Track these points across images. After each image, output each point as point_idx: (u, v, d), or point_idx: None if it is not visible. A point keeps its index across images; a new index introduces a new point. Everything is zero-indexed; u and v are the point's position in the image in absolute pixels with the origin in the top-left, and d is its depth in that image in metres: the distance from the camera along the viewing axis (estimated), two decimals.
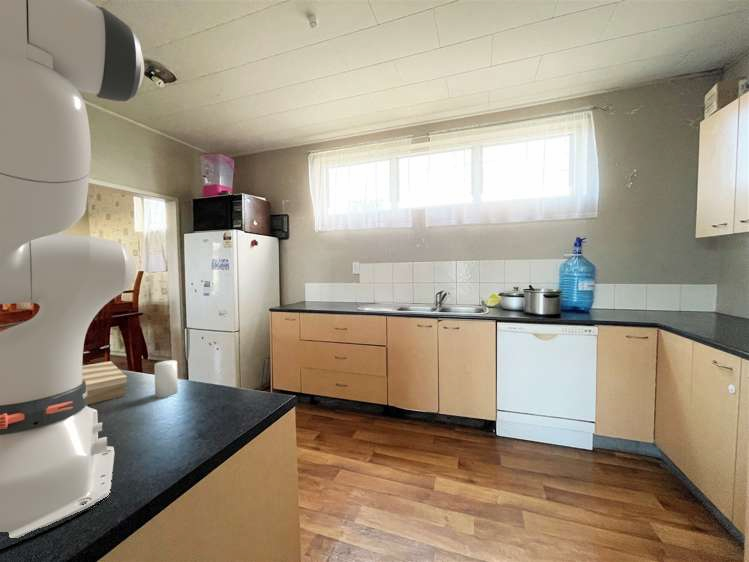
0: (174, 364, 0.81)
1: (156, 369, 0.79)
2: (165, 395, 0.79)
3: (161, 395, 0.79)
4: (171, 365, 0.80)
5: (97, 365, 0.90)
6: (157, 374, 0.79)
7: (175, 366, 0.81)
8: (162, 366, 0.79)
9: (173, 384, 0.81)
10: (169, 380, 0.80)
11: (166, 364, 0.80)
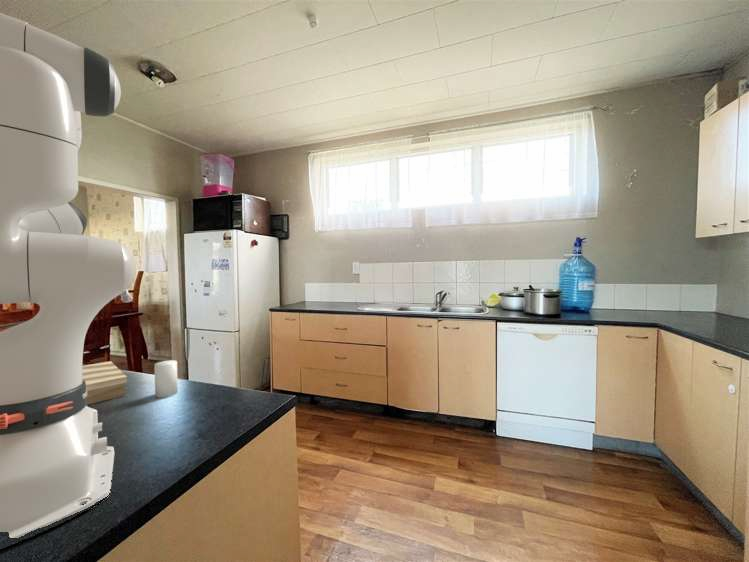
0: (174, 364, 0.81)
1: (156, 369, 0.79)
2: (165, 395, 0.79)
3: (161, 395, 0.79)
4: (171, 365, 0.80)
5: (97, 365, 0.90)
6: (157, 374, 0.79)
7: (175, 366, 0.81)
8: (162, 366, 0.79)
9: (173, 384, 0.81)
10: (169, 380, 0.80)
11: (166, 364, 0.80)
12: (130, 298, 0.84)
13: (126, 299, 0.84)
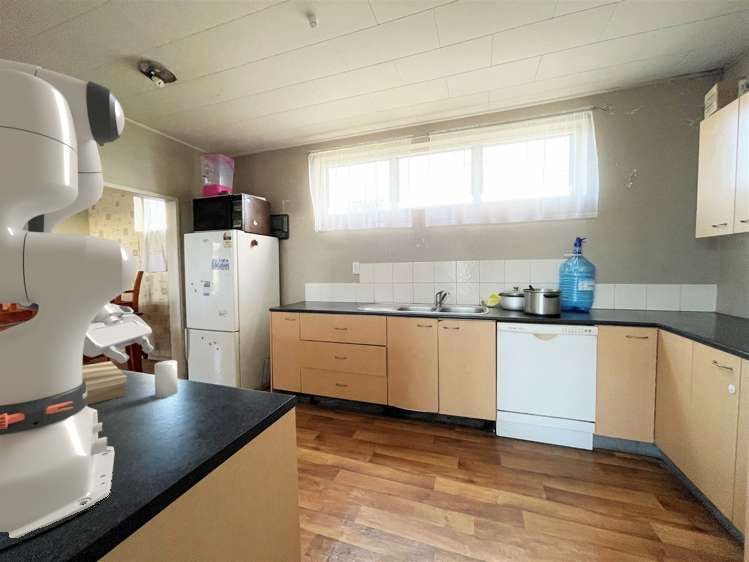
0: (174, 364, 0.81)
1: (156, 369, 0.79)
2: (165, 395, 0.79)
3: (161, 395, 0.79)
4: (171, 365, 0.80)
5: (97, 365, 0.90)
6: (157, 374, 0.79)
7: (175, 366, 0.81)
8: (162, 366, 0.79)
9: (173, 384, 0.81)
10: (169, 380, 0.80)
11: (166, 364, 0.80)
12: (151, 348, 0.85)
13: (147, 350, 0.85)
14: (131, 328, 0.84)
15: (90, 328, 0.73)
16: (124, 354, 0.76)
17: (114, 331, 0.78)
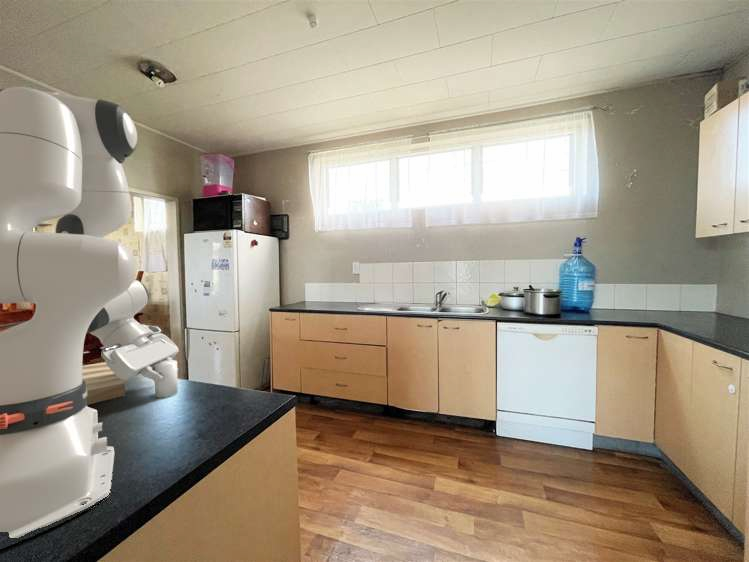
0: (174, 364, 0.81)
1: (156, 369, 0.79)
2: (165, 395, 0.79)
3: (161, 395, 0.79)
4: (171, 365, 0.80)
5: (97, 365, 0.90)
6: None
7: (175, 366, 0.81)
8: (162, 366, 0.79)
9: (173, 383, 0.81)
10: (169, 380, 0.80)
11: (166, 364, 0.80)
12: None
13: None
14: (160, 348, 0.84)
15: (123, 350, 0.74)
16: (160, 374, 0.78)
17: (145, 352, 0.79)
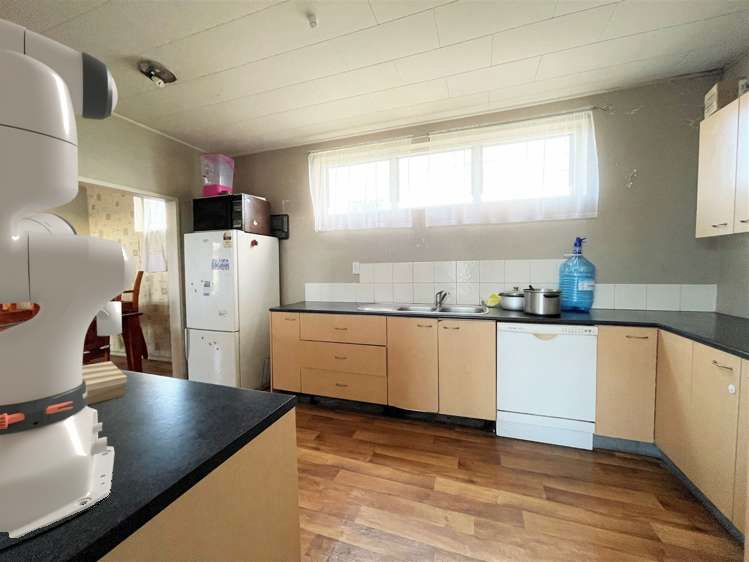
0: (119, 303, 0.82)
1: None
2: (111, 333, 0.80)
3: (107, 333, 0.79)
4: (117, 303, 0.81)
5: (97, 365, 0.90)
6: None
7: (120, 305, 0.82)
8: (107, 304, 0.79)
9: (119, 322, 0.82)
10: (116, 318, 0.81)
11: (111, 302, 0.80)
12: None
13: None
14: None
15: None
16: (105, 311, 0.79)
17: None
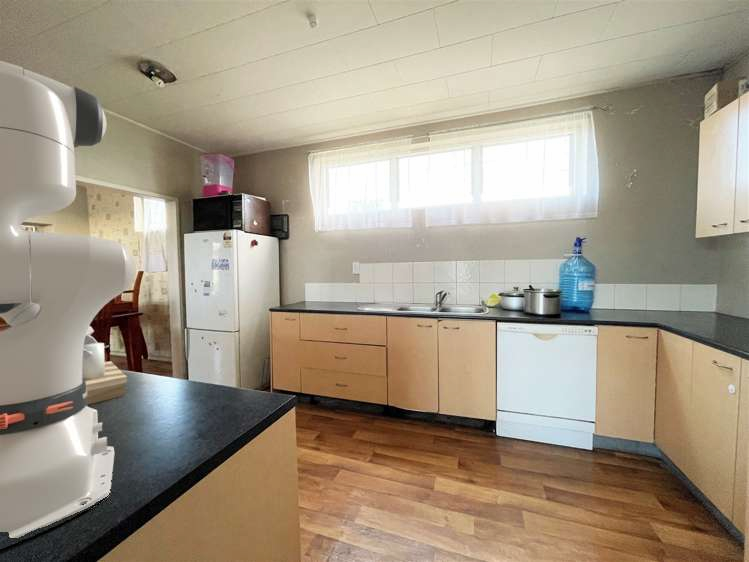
0: (102, 345, 0.81)
1: None
2: (94, 376, 0.79)
3: (90, 376, 0.78)
4: (100, 346, 0.80)
5: None
6: None
7: (103, 347, 0.81)
8: (91, 347, 0.78)
9: (102, 364, 0.81)
10: (99, 361, 0.80)
11: (94, 345, 0.80)
12: None
13: None
14: None
15: None
16: (87, 350, 0.77)
17: None
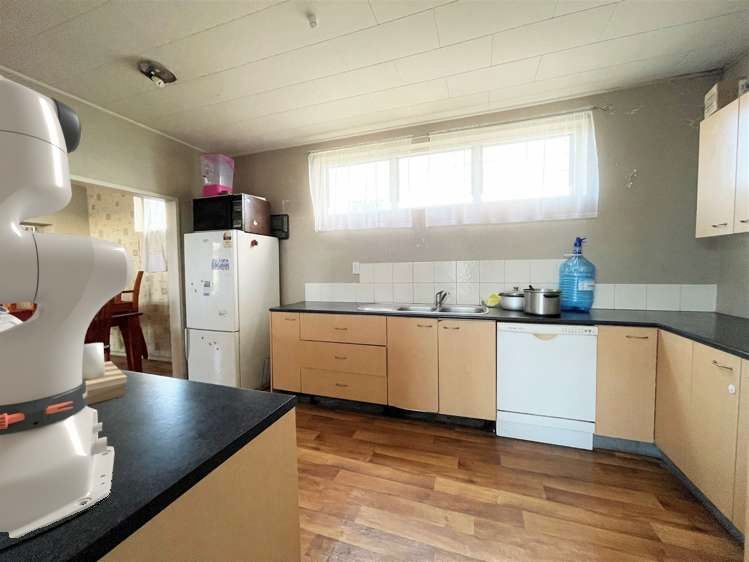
0: (102, 345, 0.81)
1: None
2: (94, 376, 0.79)
3: (89, 376, 0.78)
4: (99, 346, 0.80)
5: None
6: (83, 356, 0.78)
7: (103, 347, 0.81)
8: (90, 347, 0.78)
9: (102, 364, 0.81)
10: (98, 360, 0.80)
11: (93, 345, 0.79)
12: None
13: None
14: None
15: None
16: None
17: None
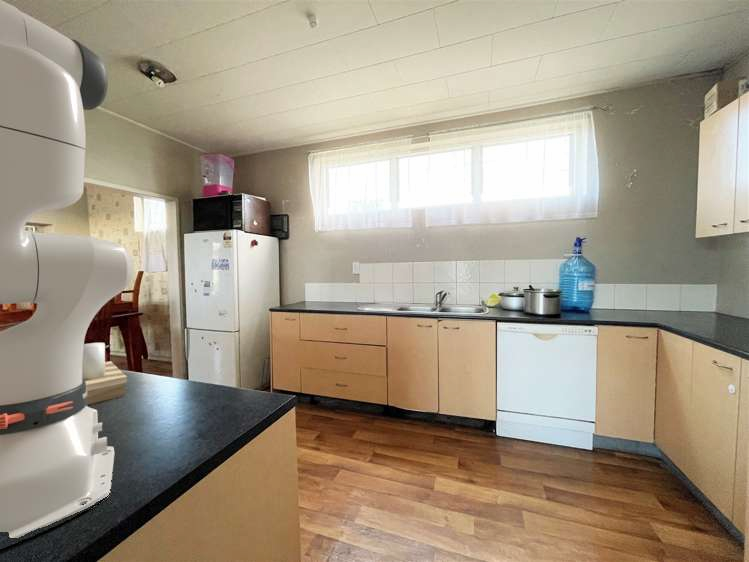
0: (103, 345, 0.81)
1: (83, 351, 0.78)
2: (93, 376, 0.79)
3: (89, 377, 0.78)
4: (100, 346, 0.80)
5: None
6: (84, 356, 0.78)
7: (104, 347, 0.81)
8: (90, 347, 0.78)
9: (102, 365, 0.81)
10: (98, 361, 0.80)
11: (94, 345, 0.79)
12: None
13: None
14: None
15: None
16: None
17: None
